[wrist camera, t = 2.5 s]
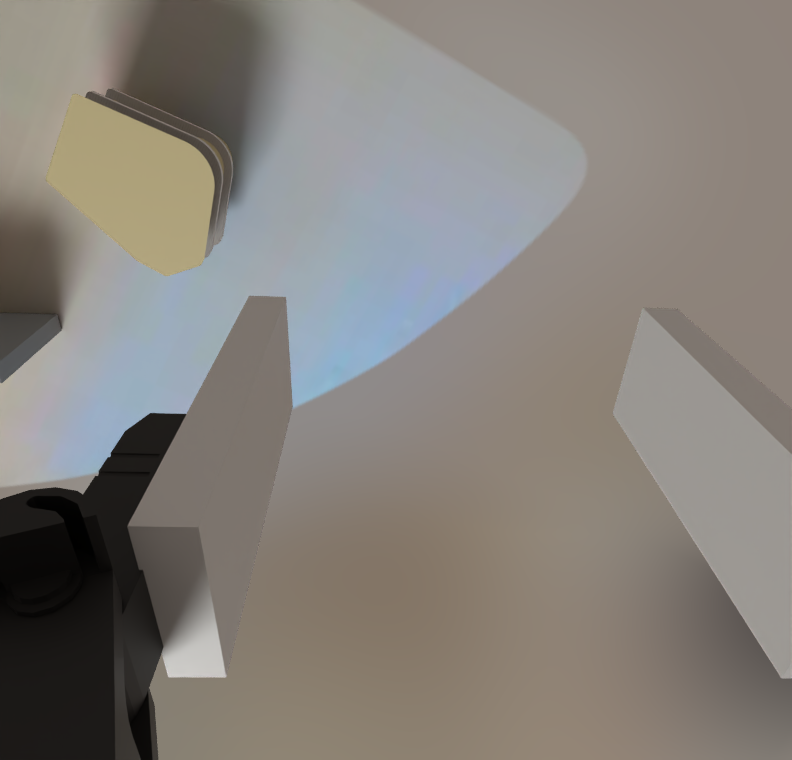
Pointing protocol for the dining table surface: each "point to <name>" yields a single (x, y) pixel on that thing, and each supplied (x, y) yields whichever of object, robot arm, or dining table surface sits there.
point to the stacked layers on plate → (144, 178)
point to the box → (23, 338)
